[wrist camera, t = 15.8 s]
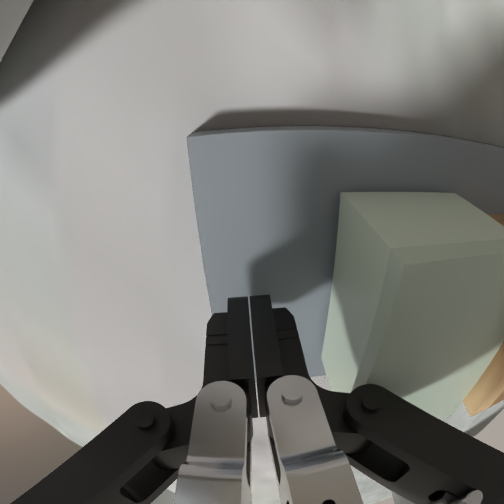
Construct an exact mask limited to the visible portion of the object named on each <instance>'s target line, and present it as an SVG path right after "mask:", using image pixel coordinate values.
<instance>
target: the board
mask: <svg viewBox="0 0 504 504" xmlns="http://www.w3.org/2000/svg"><path fill="white" fill-rule="evenodd" d="M187 145H188V154H189V163H190V171H191V180H192V188H193V195H194V203H195V210H196V218H197V225H198V232H199V238H200V245H201V252H202V258H203V264H204V271H205V277H206V283H207V289H208V295H209V300H210V306H211V312H212V315H213V314H214V313H222V312H227V300H228V298H231V297H244V296H248V304H249V316H250V328H251V340H252V351H253V363H254V374H255V382H257V380H256V369H255V358H254V347H253V336H252V324H251V310H250V297H249V296H256V295H268V294H270V298H271V304H272V308H283V307H286V308H287V309H288V310H289V311H290V313H291V314H292V315H293V316H294V318H295V322H296V326H297V330H298V334H299V339H300V342H301V346H302V350H303V354H304V358H305V362H306V366H307V370H308V374H309V376H310V377H314V376H321V375H326V373H325V369H324V365H323V362H322V358H321V355H322V350H323V344H324V337H325V331H326V325H327V318H328V311H329V304H330V296H331V289H332V280H333V272H334V263H335V253H336V243H337V232H338V220H339V206H340V192H440V193H456V194H457V195H459V196H460V197H462V198H464V199H465V200H467V201H468V202H470V203H471V204H473V205H474V206H476V207H477V208H479V209H480V210H481V211H483V212H484V213H486V214H504V148H502V147H497V146H493V145H489V144H484V143H479V142H474V141H469V140H463V139H458V138H452V137H446V136H439V135H432V134H425V133H417V132H409V131H399V130H388V129H376V128H361V127H339V126H272V127H250V128H234V129H221V130H210V131H201V132H192V133H191V134H190V135H189V136H188V137H187Z"/></svg>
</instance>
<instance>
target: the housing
mask: <svg viewBox="0 0 504 504" xmlns="http://www.w3.org/2000/svg"><path fill="white" fill-rule="evenodd" d="M503 341H504V226H502V225H501V224H500V223H498V222H497V221H495V220H494V219H493V218H491V217H490V216H489V215H487V214H486V213H484V212H483V211H481V210H480V209H479V208H477V207H476V206H474V205H473V204H471V203H470V202H468V201H467V200H465V199H464V198H462V197H460V196H459V195H457V194H456V193H440V192H340V206H339V220H338V232H337V243H336V253H335V263H334V272H333V280H332V289H331V296H330V304H329V311H328V318H327V325H326V331H325V337H324V344H323V350H322V355H321V358H322V362H323V365H324V369H325V373H326V376H327V380H328V384H329V387H330V391H335V392H344V393H351V391H353V390H354V389H355V388H356V387H358V386H361V385H364V384H376V385H379V386H382V387H384V388H385V389H387V390H389V391H390V392H392V393H394V394H396V395H397V396H399V397H401V398H402V399H404V400H406V401H408V402H409V403H411V404H413V405H415V406H416V407H418V408H420V409H422V410H423V411H425V412H427V413H429V414H431V415H432V416H434V417H436V418H438V419H440V420H441V419H443V418H446V417H448V416H451V414H452V413H453V412H454V411H455V410H456V409H457V407H458V406H459V405H460V404H461V402H462V401H463V400H464V399H465V397H466V396H467V395H468V393H469V392H470V391H471V389H472V388H473V387H474V385H475V384H476V383H477V381H478V380H479V378H480V377H481V376H482V374H483V373H484V371H485V370H486V368H487V367H488V365H489V364H490V362H491V361H492V359H493V358H494V356H495V355H496V353H497V351H498V350H499V348H500V346H501V345H502V343H503Z"/></svg>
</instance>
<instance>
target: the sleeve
mask: <svg viewBox="0 0 504 504" xmlns="http://www.w3.org/2000/svg"><path fill="white" fill-rule="evenodd" d="M487 215H489V216H490V217H491V218H493V219H494V220H495V221H497V222H498V223H500V224H501V225H502V226H504V214H487ZM502 400H504V341H503V343H502V345H501V346H500V348H499V350H498V351H497V353H496V355H495V356H494V358H493V359H492V361H491V362H490V364H489V365H488V367H487V368H486V370H485V371H484V373H483V374H482V376H481V377H480V378H479V380H478V381H477V383H476V384H475V385H474V387H473V388H472V389H471V391H470V392H469V393H468V395H467V396H466V397H465V399H464V400H463V403H464V405H465V407H466V409H467V411H468V413H469V415H470V417H471V416H473V415H475V414H477V413H479V412H481V411H483V410H485V409H487V408H489V407H491V406H493V405H495V404H497V403H498V402H500V401H502Z"/></svg>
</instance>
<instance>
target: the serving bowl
mask: <svg viewBox="0 0 504 504" xmlns="http://www.w3.org/2000/svg"><path fill="white" fill-rule="evenodd" d="M33 1H34V0H0V62H1V60H2V58H3V56H4V54H5V52H6V50H7V48H8V47H9V45H10V43H11V41H12V39H13V37H14V36H15V34H16V32H17V30H18V28H19V26H20V24H21V22H22V21H23V19H24V17H25V15H26V13H27V12H28V10H29V8H30V6H31V4H32V2H33Z"/></svg>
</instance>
